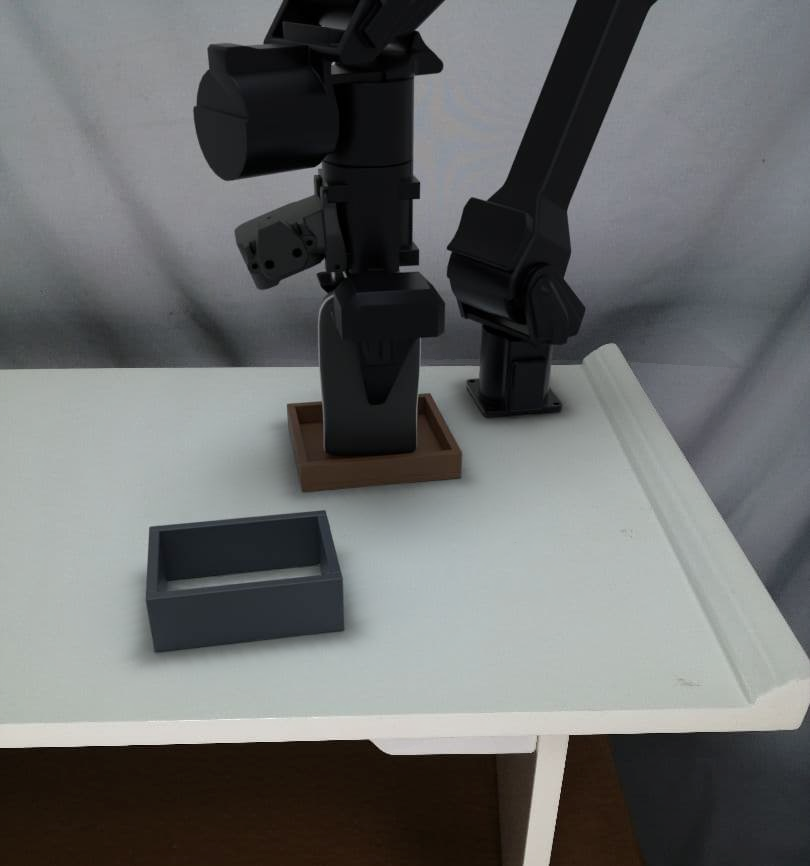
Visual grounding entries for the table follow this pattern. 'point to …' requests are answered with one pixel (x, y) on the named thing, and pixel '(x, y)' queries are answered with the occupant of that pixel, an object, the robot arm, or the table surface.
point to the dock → (246, 602)
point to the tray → (339, 471)
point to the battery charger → (363, 397)
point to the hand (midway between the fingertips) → (370, 390)
